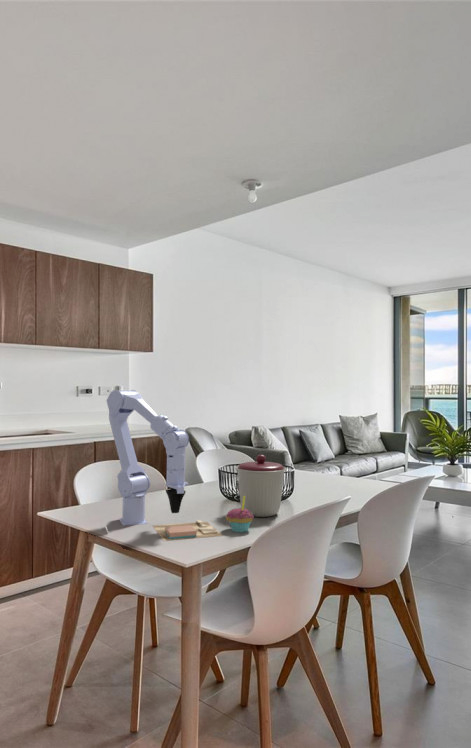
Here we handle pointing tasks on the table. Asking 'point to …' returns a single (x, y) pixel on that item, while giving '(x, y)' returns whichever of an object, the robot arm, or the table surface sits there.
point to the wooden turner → (205, 528)
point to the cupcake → (240, 518)
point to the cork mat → (161, 528)
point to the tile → (180, 532)
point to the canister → (261, 486)
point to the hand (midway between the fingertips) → (175, 512)
